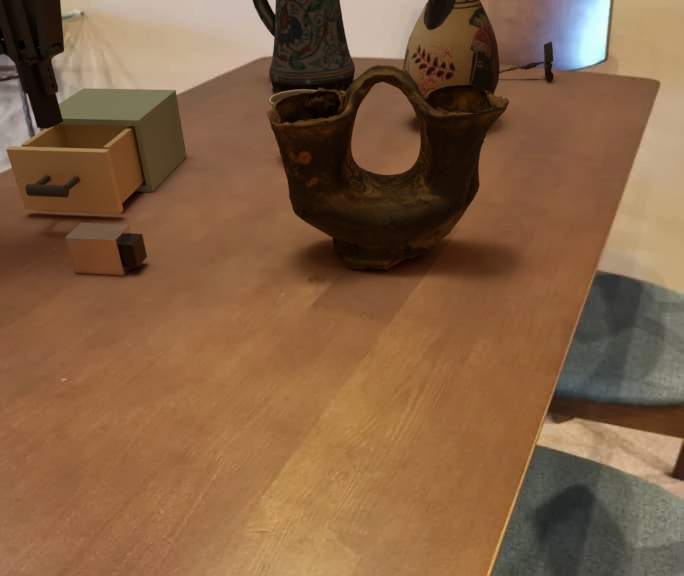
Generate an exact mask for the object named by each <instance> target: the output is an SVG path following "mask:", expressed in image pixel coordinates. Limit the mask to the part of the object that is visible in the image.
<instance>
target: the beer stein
mask: <svg viewBox="0 0 684 576" xmlns="http://www.w3.org/2000/svg"><path fill="white" fill-rule="evenodd" d="M252 3H253V7H254V9H255V11H256V13H257V15H258V17H259V18H260V21H261V22H262V23H263V25H264V26H265V28H266V30H268V32H269V34H271V36H272V37H273V50H272V56H271V57H272V58H271V63H270V66H269V70H268V75H269V79H270V83H271V85H272V91H273V92H274V94H277V93H280V92H284V91H291V90H302V89H303V90H304V89H305V90H318V88H324V89H327V90H332V89H334V90H338V91H342V90H343V91H344V92H346V91H347V89H348V88H349V87H350V85H351V84H352V83H353V82H354V81H355V80H354V77H355V72H356V66H355V65H356V64H355V63H354V61H353V59H352V56H351V53H350V52H351V51H350V49H349V45H348V41H347V36H346V31H345V26H344V20H343V13H342V6H341V0H275V11H274V10H273V8H272V5H270V2H269V1H268V0H252Z"/></svg>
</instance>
